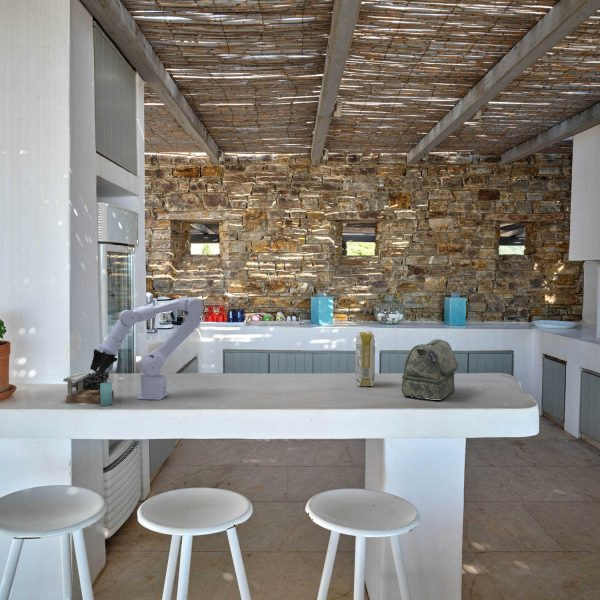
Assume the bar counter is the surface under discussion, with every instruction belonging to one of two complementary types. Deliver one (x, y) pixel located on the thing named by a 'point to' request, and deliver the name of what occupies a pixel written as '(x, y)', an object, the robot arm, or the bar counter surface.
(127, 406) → the bar counter surface
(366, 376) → the juice carton
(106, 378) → the fruit
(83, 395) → the socket station
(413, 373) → the lunch bag
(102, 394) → the peg
